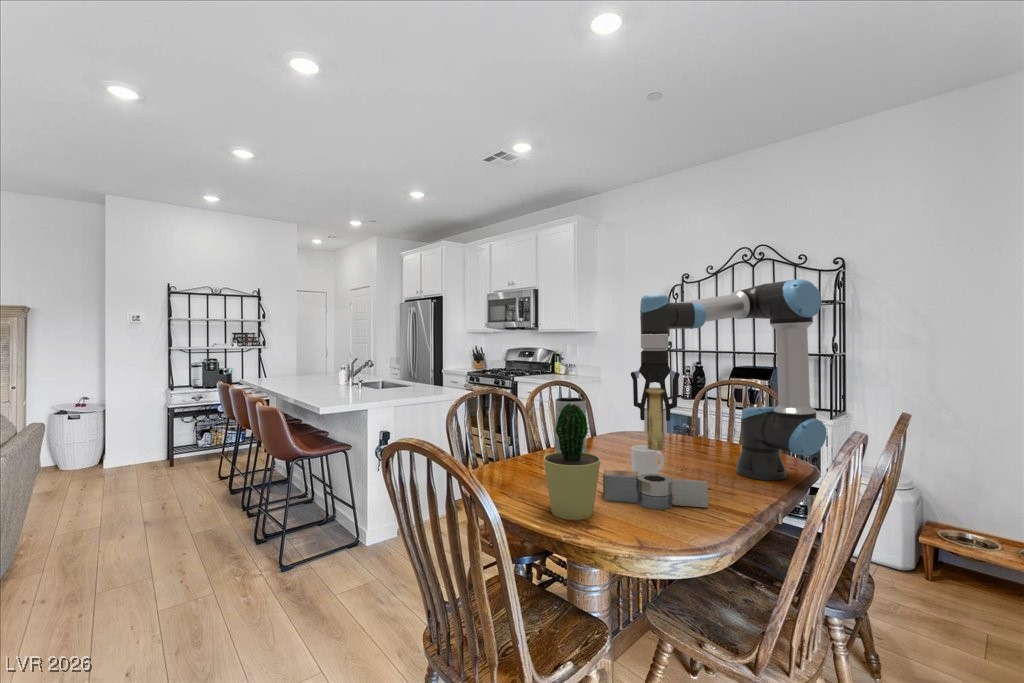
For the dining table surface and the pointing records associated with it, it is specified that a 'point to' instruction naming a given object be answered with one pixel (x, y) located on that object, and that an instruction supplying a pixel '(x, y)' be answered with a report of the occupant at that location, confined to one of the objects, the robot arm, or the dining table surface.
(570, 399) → the vase
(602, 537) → the dining table surface
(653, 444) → the hinge pin
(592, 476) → the potted cactus
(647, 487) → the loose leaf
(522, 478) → the dining table surface
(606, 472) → the block
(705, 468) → the dining table surface
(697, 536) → the dining table surface
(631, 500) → the hinge base
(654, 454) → the mug
